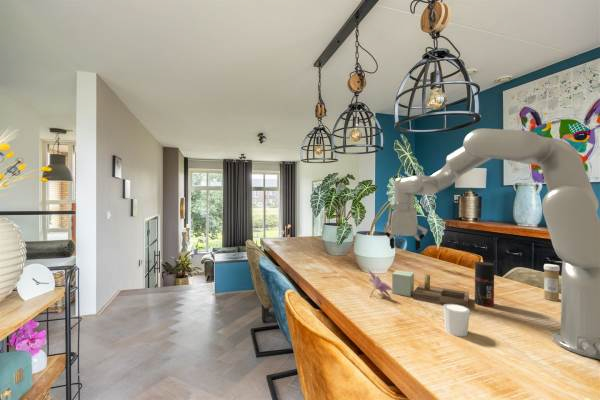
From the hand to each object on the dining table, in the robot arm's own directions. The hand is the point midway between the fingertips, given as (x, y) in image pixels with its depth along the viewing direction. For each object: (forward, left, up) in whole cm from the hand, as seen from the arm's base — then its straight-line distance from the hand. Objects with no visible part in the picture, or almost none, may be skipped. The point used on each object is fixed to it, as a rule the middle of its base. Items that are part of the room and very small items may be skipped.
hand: (404, 249), depth 115 cm
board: (+1, -13, -18) cm, 22 cm away
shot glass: (-27, -20, -18) cm, 38 cm away
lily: (-10, +7, -18) cm, 22 cm away
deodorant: (+4, -27, -18) cm, 33 cm away
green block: (0, +1, -18) cm, 18 cm away
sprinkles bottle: (+25, -49, -18) cm, 58 cm away
